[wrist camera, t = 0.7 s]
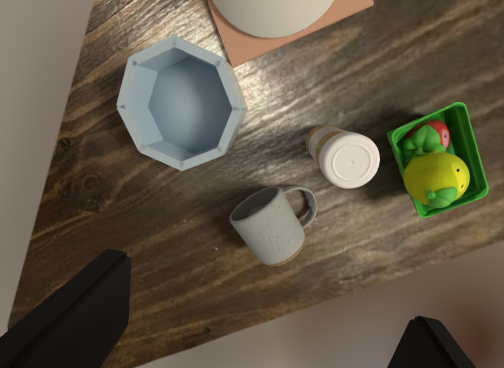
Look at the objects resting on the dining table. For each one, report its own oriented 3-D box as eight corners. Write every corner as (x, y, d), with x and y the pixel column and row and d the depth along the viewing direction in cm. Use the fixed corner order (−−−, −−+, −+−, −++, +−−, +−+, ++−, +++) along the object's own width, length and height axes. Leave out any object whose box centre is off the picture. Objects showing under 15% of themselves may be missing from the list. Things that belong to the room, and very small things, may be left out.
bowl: (220, 34, 31) (207, 17, 25) (258, 136, 34) (255, 142, 28) (129, 77, 33) (98, 71, 27) (173, 169, 36) (153, 181, 31)
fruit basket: (460, 182, 33) (548, 217, 23) (392, 208, 35) (443, 253, 24) (434, 99, 31) (520, 95, 20) (362, 132, 33) (405, 145, 22)
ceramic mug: (262, 249, 39) (260, 281, 31) (232, 205, 37) (223, 228, 30) (326, 215, 36) (340, 242, 29) (297, 167, 35) (304, 182, 27)
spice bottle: (338, 159, 34) (376, 191, 21) (303, 158, 34) (319, 188, 21) (342, 124, 33) (386, 134, 20) (306, 123, 33) (325, 133, 20)
